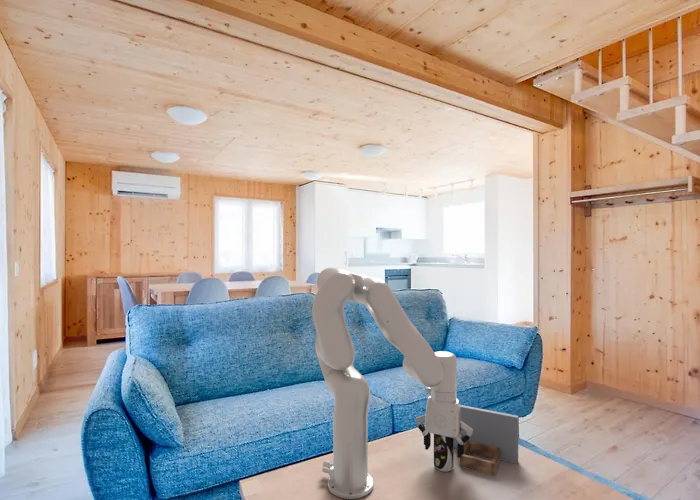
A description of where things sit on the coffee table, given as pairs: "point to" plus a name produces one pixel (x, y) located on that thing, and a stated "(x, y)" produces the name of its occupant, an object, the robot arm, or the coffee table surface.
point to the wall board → (492, 430)
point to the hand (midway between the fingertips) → (443, 451)
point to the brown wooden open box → (479, 463)
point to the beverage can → (443, 453)
